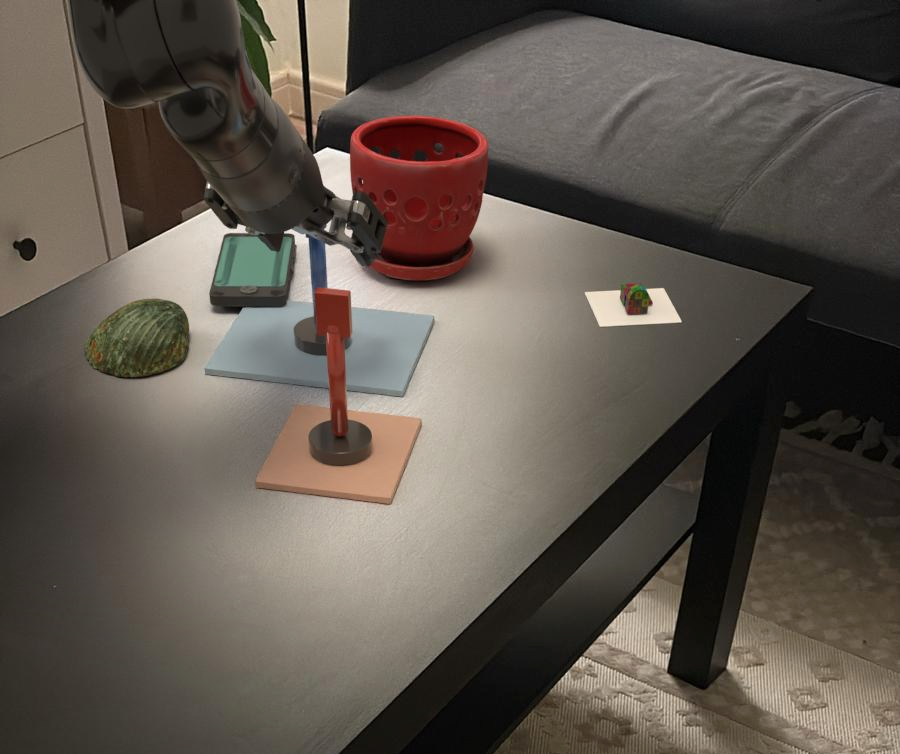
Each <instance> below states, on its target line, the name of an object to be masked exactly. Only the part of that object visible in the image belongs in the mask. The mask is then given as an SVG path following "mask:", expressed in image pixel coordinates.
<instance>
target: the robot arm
mask: <svg viewBox="0 0 900 754" xmlns="http://www.w3.org/2000/svg"><path fill="white" fill-rule="evenodd" d="M65 2H66V9H67V14H68V23H69V30H70V36H71V40H72V45H73V49H74V53H75V57H76V60H77V64H78V65H79V66H78V67H79V68H80V71H81V72H82V74H83V76H84V78H85V79H86V82H88V85H89V86H90V87H91V88H92V90H93V91H94V92H96V94H97V95H98V96H99V97H100V98H102V99H103V100H104V101H105V102H107V103H108V104H109V105H111V106H113V107H115V108H117V109H121V110H131V109H137V108H141V107H144V106H148V105H152V104H155V103H158V109H159V114H160V117H161V119H162V121H163V123H164V125H165V127H166V129H167V131H168V132H169V133H170V135H171V136H172V137H173V138H174V140H175V141H176V142H177V143H178V144H179V145H180V147H181V148H182V149H183V150H184V152H186V153H187V154H188V156H189V157H190V158H191V159H192V160H193V162H194V163H195V164H196V165H197V168H198V169H199V171H200V173H201V175H202V176H203V177H204V179H205V180H206V185H205V190H204V194H203V201H204V202H205V204H206V205H207V206H208V207H209V208H210V210H211V211H212V212H213V213H214V214H215V217H217V218H218V220H219V221H220V222H221V223H222V225H223V226H225V227H226V228H228V229H230V230H237V229H238V226H239V225H240V226H243V227H245V229H244V231H245V233H249V234H251V235H256V236H257V237H258V238H259V239H260V240H261V241H262V242H263V243H265V244H266V246H267V247H268V248H269V249H270V250H271V251H276V252H279V251H280V249H281V245H282V241H283V237H284V233H286V232H288V231H290V230H292V231H293V232H296V233H298V234H300V235H306V234H308V235H310V236H312V237H314V238H316V239H318V240H320V241H322V242H324V243H325V245H328V246H330V247H332V246H336V245H341V246H342V247H345V248H346V249H348V250H349V251H350V253H351V254H352V255H353V257H354V258H355V260H356V261H357V263H358V264H359V265H360V266H361V267H364V268H371V267H370V265H371V262H373V263H374V262H375V258H376V254H377V253H380V252H381V249H382V245H383V241H384V236H385V232H386V228H387V224H388V222H387V221H386V219H385V218H384V217H383V215H382V214H381V213H380V211H379V210H378V208H377V207H376V206H375V204H374V203H373V202H372V200H371V199H370V198H369V196H368V195H367V194H366V193H364V192H362V191H354V192H352V196H351V200H350V199H344V198H343V199H342V198H340V197H339V196H337V195H336V194H335V193H334V192H333V191H332V190H330V189H329V188H327V187H326V186H325V185H324V182H323V178H322V175H321V174H322V173H321V170H320V166H319V164H318V160H317V158H316V157H315V155H314V154H313V152H312V151H311V148H310V147H309V145H308V144H307V143H306V142H305V140H304V138H303V137H302V135H301V134H300V132H299V131H298V129H297V128H296V127H295V125H294V124H293V122H292V121H291V119H290V118H289V116H288V115H287V112H285V111H284V110H283V108H282V106H281V105H279V103H277V101H275V99H273V98H272V97H271V96H270V94H269V93H268V91H267V90H266V88H265V87H264V85H263V84H262V82H261V81H260V79H259V78H258V76H257V75H256V74H255V72H254V70H253V68H252V65H251V62H250V60H249V57H248V54H247V50H246V44H245V38H244V31H243V26H242V25H243V24H242V19H241V15H240V10H239V6H238V3H237V0H65ZM329 223H330V224H329ZM327 224H329V225H330V226H329V229H328V231H327V230H325V229H322V228H323V227H324V226H325V225H327ZM346 230H347V231H348V230H349V231H352V233H351V237H350V236H349V235H347V234H346V233H345V231H346Z"/></svg>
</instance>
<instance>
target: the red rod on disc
mask: <svg viewBox="0 0 900 754" xmlns="http://www.w3.org/2000/svg"><path fill="white" fill-rule="evenodd" d="M314 296H315V311H316V326H317V335H323V336H326V350H327V367H328V383H329V388H328V397H329V398H328V399H329V400H328V401H329V408H330V417H331V420H328V421H325V422H322V423H320V424H318V425H316V426H315V427H313V428H312V430H311V431H310V433H309V435H308V441H309V451H310V454H311V455H312V457H313V458H315V459H316V460H317V461H319V462H321V463H324V464H328V465H333V466H346V465H352V464H356V463H359V462H361V461H363V460H365V459H366V458H367V457H368V456H369V455H370V454H371V452H372V449H373V439H372V432H371V430H370V429H369V428H368V427H367V426H366V425H364V424H362V423H360V422H358V421H354V420H349V419H348V410H349V408H348V390H347V385H346V365H345V344H344V338H350V337H351V335H352V311H351V307H352V292H351V290H349V289H339V288H330V287H328V288H321V287H317V289H316V290H315V292H314Z"/></svg>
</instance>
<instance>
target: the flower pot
mask: <svg viewBox="0 0 900 754" xmlns="http://www.w3.org/2000/svg"><path fill="white" fill-rule="evenodd" d="M436 144H439V145H441V146H442V148H443V149H442V151H441V152H438V151H437V150H436ZM349 147H350V148H349V171H350V174H349V175H350V183H351V184H350V185H351V192H352V193H353V192H354V191H362V192H364V193H366V194H367V195H368V196H369V198H370V199H371V200H372V202H373V203H374V204H375V206H376V207H377V208H378V210H379V211H380V213H381V214H382V215H383V217H384V218H385V219H386V221H387V222H388V224H387V228H386V232H385V236H384V241H383V245H382V249H381V252H380V253H377V254H376V258H375V262H374V263H373V262H371V265H370V267H369V268H371V269H372V270H374V271H376V272H378V273H380V274H382V275H384V276H386V277H387V278H388V279H398V280H406V281H430V280H431V281H432V280H438V279H442V278H446V277H449V276H451V275H453V274H456V273H457V272H459V271H460V270H462V269H463V268H464V267H465V266H467V264H468V263H469V262H470V260H472V256H473V254H474V249H475V245H474V242H473V240H472V238H471V237H470V236H471V234H472V232H473V230H474V229H475V226H476V223H478V219H479V216H480V213H481V209H482V204H483V197H484V190H485V186H486V181H487V176H488V162H489V161H488V160H489V142H488V139H487V138H486V137H485V135H483V134H482V132H480V131H479V130H477V129H476V128H473V127H471V126H470V125H467V124H465V123H462V122H460V121H457V120H453V119H447V118H442V117H436V116H428V115H427V116H426V115H395V116H389V117H382V118H377V119H374V120H373V119H372V120H371V121H368V122H365V123H363V124H360V126H358V127H357V128H356V129H355V130H354V131H353V132H352V133H351V137H350V145H349ZM372 148H377V150H378V153H377V152H375V151H373V150H371V149H372ZM395 151H397V152H398V156H397V158H394V157H391V154H392V153H393V152H395ZM418 151H421V152H423V153H425V155H426V159H425V160H424V161H416V160H415V154H416V152H418ZM459 155H461V156H462V157H459Z"/></svg>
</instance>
